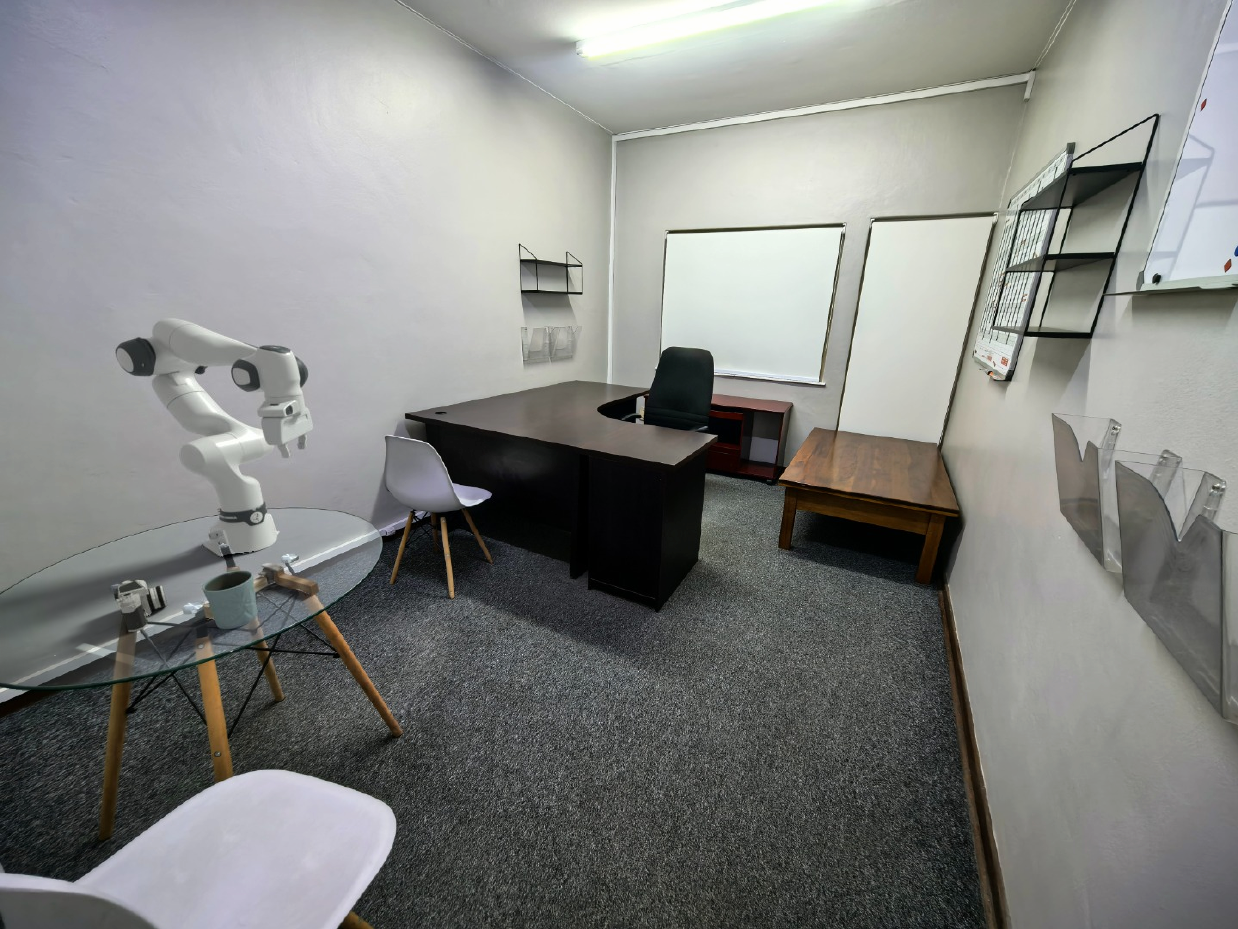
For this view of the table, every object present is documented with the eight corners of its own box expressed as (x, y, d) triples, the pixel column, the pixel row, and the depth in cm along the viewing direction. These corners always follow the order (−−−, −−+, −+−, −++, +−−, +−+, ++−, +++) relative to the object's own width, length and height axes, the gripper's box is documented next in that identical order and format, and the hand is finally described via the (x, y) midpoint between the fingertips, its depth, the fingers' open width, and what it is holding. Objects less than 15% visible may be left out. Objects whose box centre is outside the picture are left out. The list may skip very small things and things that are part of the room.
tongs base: (274, 580, 139) (271, 564, 138) (283, 582, 138) (280, 565, 137) (203, 618, 121) (199, 600, 119) (214, 620, 120) (209, 602, 118)
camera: (171, 620, 120) (161, 587, 117) (124, 636, 113) (112, 601, 110) (165, 596, 130) (156, 565, 127) (121, 609, 123) (110, 577, 121)
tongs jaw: (264, 583, 137) (260, 565, 135) (271, 580, 139) (267, 562, 137) (313, 598, 130) (309, 579, 129) (319, 594, 132) (316, 576, 130)
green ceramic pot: (256, 604, 128) (247, 566, 124) (266, 619, 121) (257, 580, 118) (209, 620, 120) (198, 580, 117) (216, 637, 114) (205, 595, 110)
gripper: (291, 399, 136) (299, 444, 140) (253, 411, 117) (264, 463, 121) (314, 399, 137) (322, 443, 141) (280, 411, 118) (290, 462, 122)
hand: (295, 452), depth 131 cm, fingers open, 8 cm apart
